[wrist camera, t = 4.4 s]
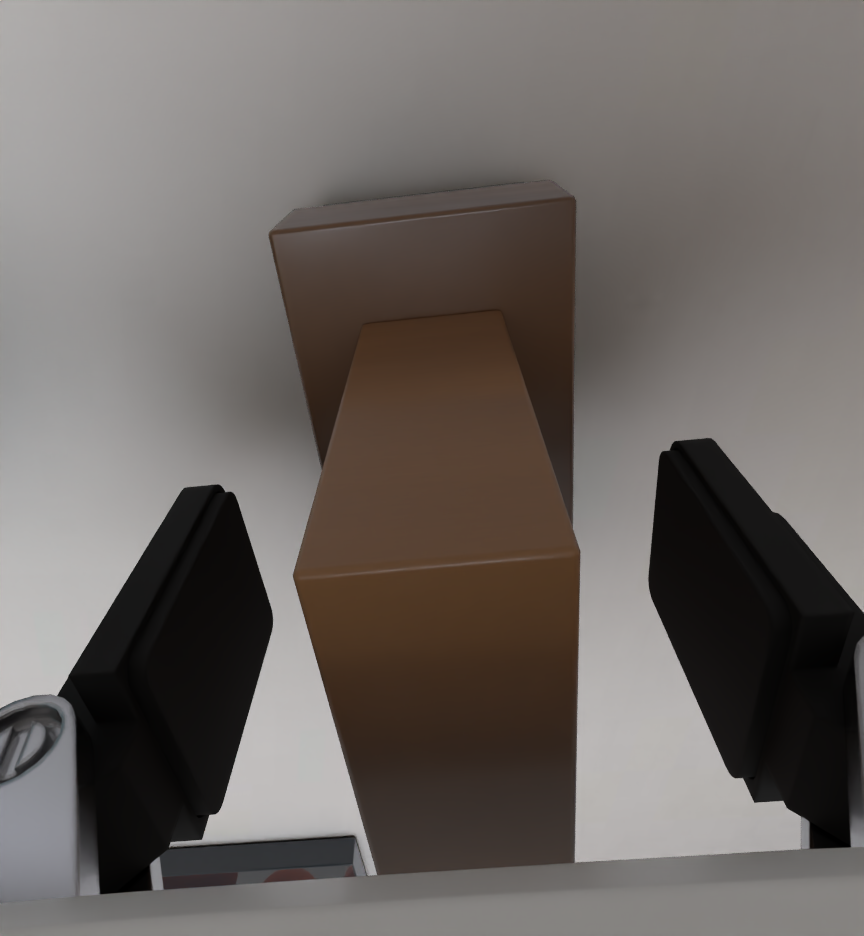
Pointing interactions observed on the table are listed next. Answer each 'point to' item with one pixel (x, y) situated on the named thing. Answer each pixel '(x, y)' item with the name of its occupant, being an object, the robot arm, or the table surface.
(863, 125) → the table surface
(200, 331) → the table surface
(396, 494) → the brush
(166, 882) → the slate tile
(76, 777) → the robot arm
